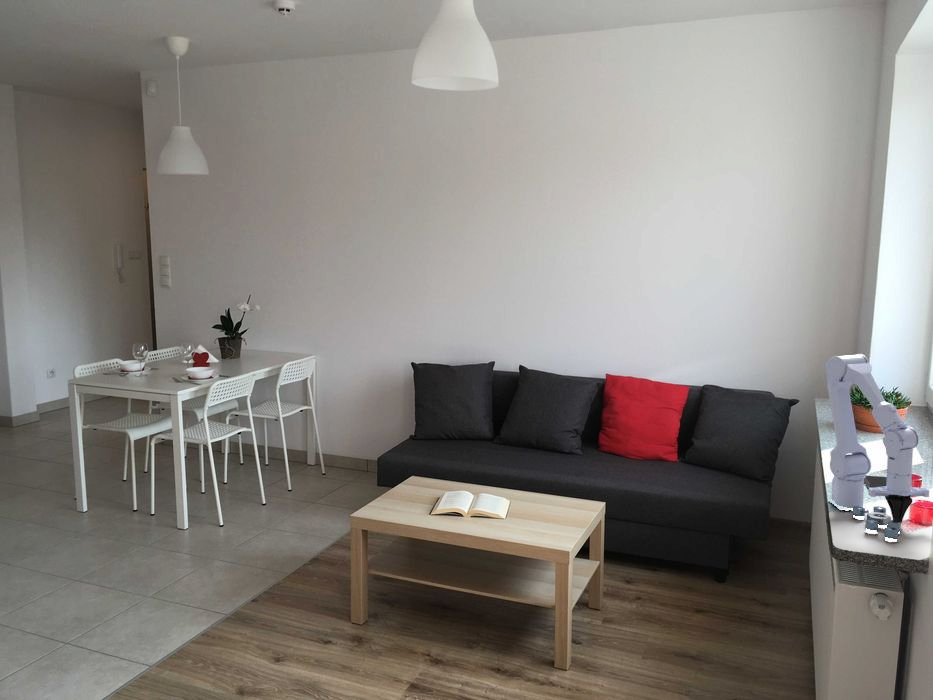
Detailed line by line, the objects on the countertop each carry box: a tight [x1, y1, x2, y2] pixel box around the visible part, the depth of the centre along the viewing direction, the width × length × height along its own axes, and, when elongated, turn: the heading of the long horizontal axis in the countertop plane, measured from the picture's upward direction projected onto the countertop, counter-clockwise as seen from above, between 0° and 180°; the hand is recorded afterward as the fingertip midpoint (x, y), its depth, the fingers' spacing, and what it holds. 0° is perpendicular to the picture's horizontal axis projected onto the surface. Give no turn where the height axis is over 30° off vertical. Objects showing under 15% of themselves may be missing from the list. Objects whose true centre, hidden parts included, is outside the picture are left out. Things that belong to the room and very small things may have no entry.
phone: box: [864, 475, 887, 489], centre depth 239 cm, size 8×1×15 cm
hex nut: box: [866, 511, 892, 525], centre depth 204 cm, size 6×5×3 cm
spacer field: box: [852, 505, 902, 539], centre depth 201 cm, size 20×10×3 cm, turn 174°
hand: (897, 522), depth 203 cm, fingers closed
